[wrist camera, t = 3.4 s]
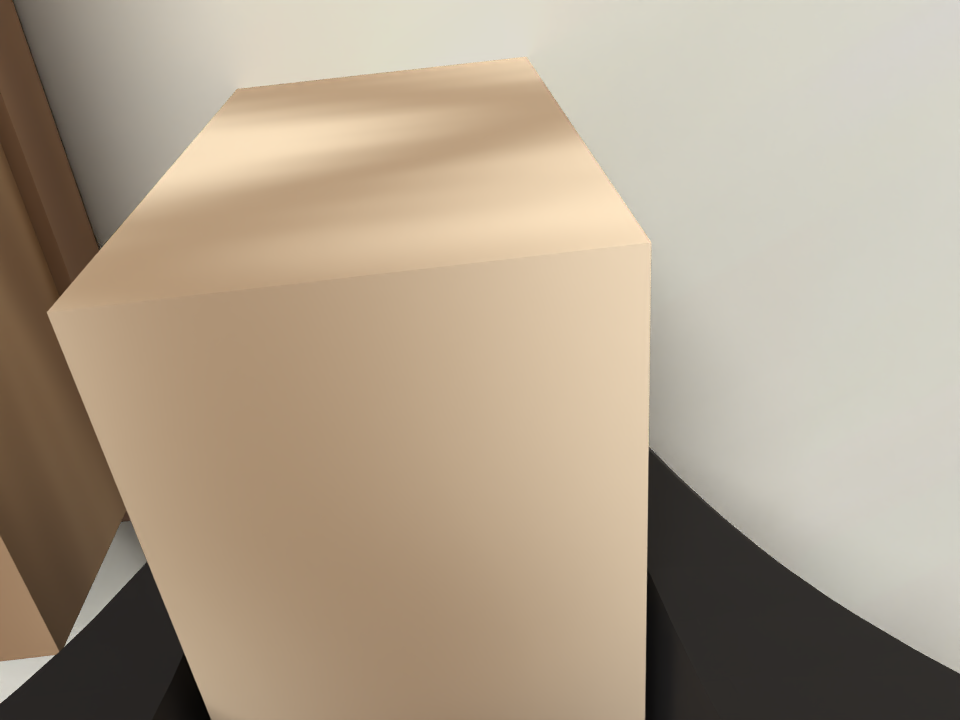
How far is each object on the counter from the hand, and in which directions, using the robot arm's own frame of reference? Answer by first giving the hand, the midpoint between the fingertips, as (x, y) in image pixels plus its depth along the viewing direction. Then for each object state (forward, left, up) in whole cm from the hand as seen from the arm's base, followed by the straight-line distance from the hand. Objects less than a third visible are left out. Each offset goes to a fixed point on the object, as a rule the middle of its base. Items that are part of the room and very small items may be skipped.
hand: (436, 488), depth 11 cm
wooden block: (0, 0, -2) cm, 2 cm away
